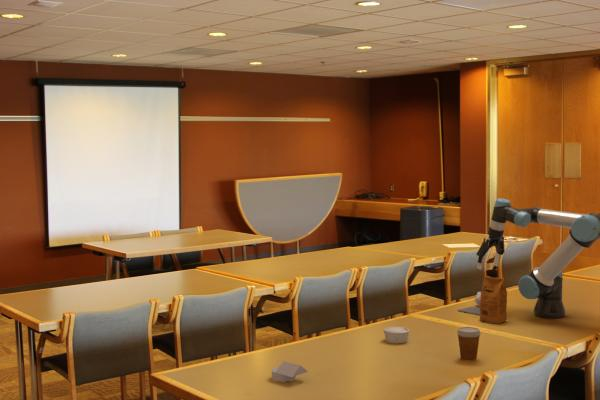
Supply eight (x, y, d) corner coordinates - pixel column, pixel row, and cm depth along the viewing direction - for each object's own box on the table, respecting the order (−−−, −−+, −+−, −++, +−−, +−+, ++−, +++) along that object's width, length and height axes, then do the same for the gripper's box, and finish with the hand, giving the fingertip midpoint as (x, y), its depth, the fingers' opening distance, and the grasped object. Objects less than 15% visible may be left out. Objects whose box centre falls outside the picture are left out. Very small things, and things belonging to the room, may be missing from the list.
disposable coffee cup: (453, 355, 319) (453, 327, 318) (476, 354, 319) (476, 326, 318) (460, 362, 309) (460, 332, 308) (483, 361, 310) (484, 332, 309)
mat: (500, 313, 393) (500, 312, 393) (486, 316, 385) (486, 315, 385) (471, 307, 406) (471, 306, 406) (457, 311, 398) (457, 310, 398)
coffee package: (488, 317, 384) (488, 273, 382) (509, 321, 375) (510, 276, 373) (476, 320, 377) (476, 276, 376) (497, 325, 368) (498, 279, 366)
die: (488, 310, 402) (496, 294, 404) (473, 302, 403) (481, 286, 405) (484, 312, 410) (492, 297, 412) (470, 304, 411) (478, 288, 413)
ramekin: (412, 343, 338) (412, 332, 337) (387, 345, 336) (387, 333, 335) (404, 337, 349) (404, 325, 348) (380, 338, 347) (380, 327, 346)
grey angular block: (308, 380, 289) (283, 373, 298) (308, 362, 288) (283, 356, 297) (292, 386, 282) (266, 378, 291) (291, 368, 282) (266, 361, 291)
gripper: (505, 224, 403) (496, 261, 409) (475, 227, 388) (466, 267, 393) (517, 229, 398) (507, 267, 404) (487, 233, 382) (477, 272, 388)
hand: (487, 267), depth 399 cm, fingers open, 13 cm apart
